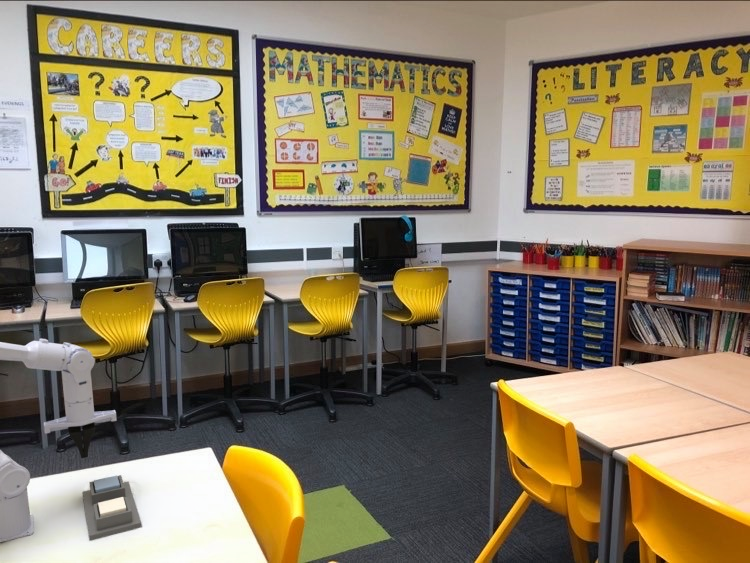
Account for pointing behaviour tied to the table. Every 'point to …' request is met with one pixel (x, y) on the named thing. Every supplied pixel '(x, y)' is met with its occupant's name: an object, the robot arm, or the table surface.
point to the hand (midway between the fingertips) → (84, 456)
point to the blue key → (106, 484)
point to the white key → (111, 507)
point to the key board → (115, 521)
